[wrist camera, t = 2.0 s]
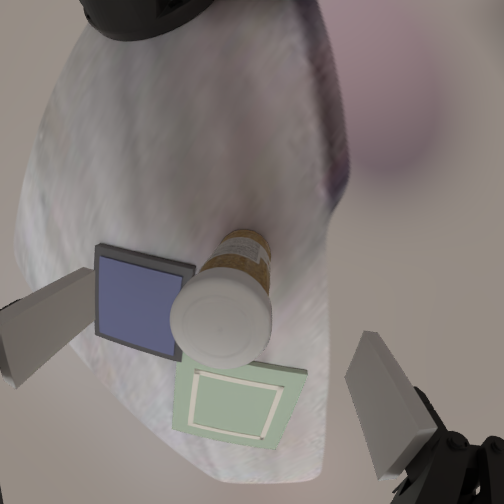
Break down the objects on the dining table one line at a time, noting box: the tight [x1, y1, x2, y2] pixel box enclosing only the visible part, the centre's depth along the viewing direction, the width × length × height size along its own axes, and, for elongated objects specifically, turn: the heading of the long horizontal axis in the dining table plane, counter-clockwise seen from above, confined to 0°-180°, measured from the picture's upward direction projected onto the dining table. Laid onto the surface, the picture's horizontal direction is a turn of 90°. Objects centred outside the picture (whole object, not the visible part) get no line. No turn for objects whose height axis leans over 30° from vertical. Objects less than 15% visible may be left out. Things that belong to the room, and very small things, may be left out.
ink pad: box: [94, 243, 196, 362], centre depth 26 cm, size 10×10×1 cm
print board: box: [172, 352, 308, 450], centre depth 29 cm, size 13×13×1 cm
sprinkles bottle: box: [170, 230, 272, 369], centre depth 19 cm, size 5×5×13 cm
